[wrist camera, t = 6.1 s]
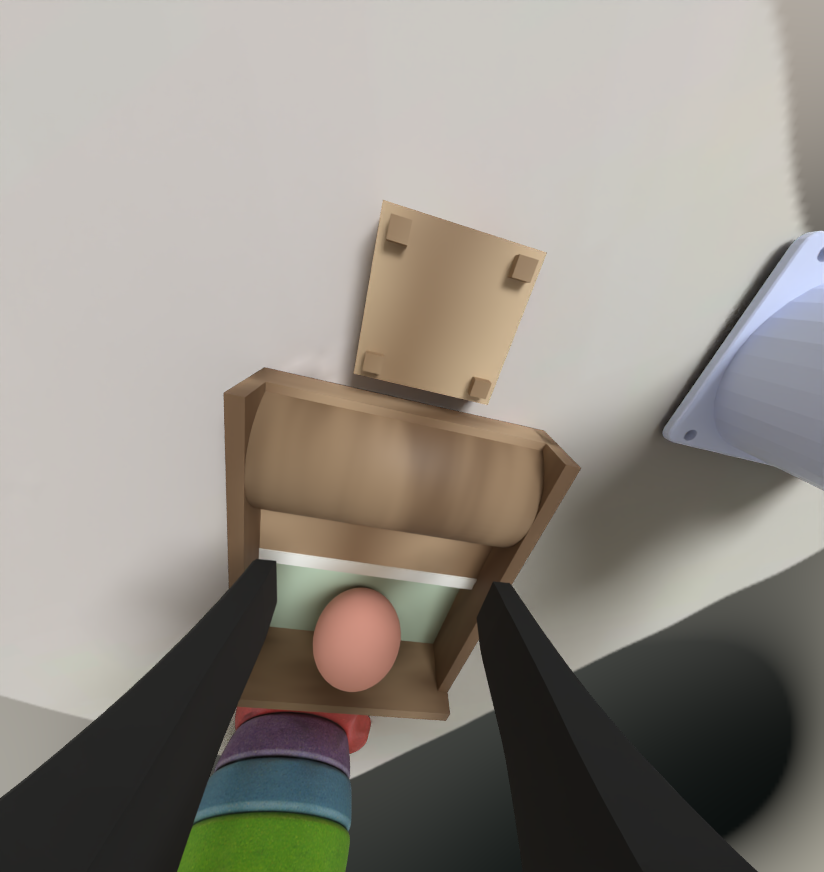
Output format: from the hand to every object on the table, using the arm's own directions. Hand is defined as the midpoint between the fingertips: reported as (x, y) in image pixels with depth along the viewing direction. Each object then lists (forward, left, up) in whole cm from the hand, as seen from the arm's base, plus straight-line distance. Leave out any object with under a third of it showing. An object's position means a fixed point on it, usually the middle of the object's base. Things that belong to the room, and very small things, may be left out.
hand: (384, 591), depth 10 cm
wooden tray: (0, +3, -8) cm, 9 cm away
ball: (0, +7, -2) cm, 8 cm away
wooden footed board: (0, -8, -5) cm, 10 cm away
